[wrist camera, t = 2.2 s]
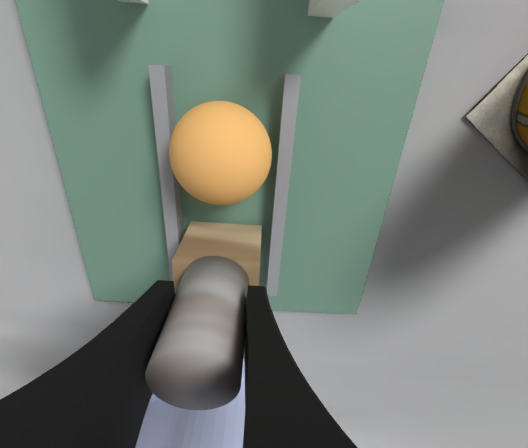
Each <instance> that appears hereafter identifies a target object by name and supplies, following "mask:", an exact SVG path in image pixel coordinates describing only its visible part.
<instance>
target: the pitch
mask: <svg viewBox="0 0 528 448" xmlns="http://www.w3.org/2000/svg"><path fill="white" fill-rule="evenodd" d="M15 1H16V5H17V9H18V13H19V17H20V20H21V24H22V28H23V32H24V35H25V39H26V43H27V47H28V51H29V54H30V58H31V62H32V66H33V70H34V73H35V77H36V81H37V85H38V88H39V92H40V96H41V100H42V104H43V107H44V111H45V115H46V119H47V123H48V126H49V130H50V134H51V138H52V141H53V145H54V149H55V153H56V157H57V160H58V164H59V168H60V172H61V176H62V179H63V183H64V187H65V191H66V194H67V198H68V202H69V206H70V210H71V213H72V217H73V221H74V225H75V229H76V232H77V236H78V240H79V244H80V248H81V251H82V255H83V259H84V263H85V266H86V270H87V274H88V278H89V282H90V285H91V289H92V293H93V297H94V300H103V301H121V302H135V301H136V300H137V299H138V298H140V297H141V296H142V295H143V294H144V293H145V292H146V291H147V290H148V289H149V288H150V287H151V286H152V285H153V284H154V283H155V282H156V281H157V280H165V281H174V280H173V270H172V259H173V257H174V255H175V253H176V251H177V249H178V247H179V245H180V243H181V241H182V239H183V237H184V234H185V232H186V230H187V228H188V226H189V224H190V222H191V221H197V222H213V223H229V224H246V225H262V229H261V255H260V275H259V286H264V287H265V288H266V289H267V295H268V299H269V303H270V306H271V309H272V310H283V311H301V312H319V313H337V314H357V310H358V307H359V303H360V299H361V296H362V292H363V289H364V285H365V282H366V278H367V274H368V271H369V267H370V264H371V260H372V257H373V253H374V249H375V246H376V242H377V239H378V235H379V232H380V228H381V225H382V221H383V217H384V214H385V210H386V207H387V203H388V200H389V196H390V192H391V189H392V185H393V182H394V178H395V175H396V171H397V167H398V164H399V160H400V157H401V153H402V150H403V146H404V142H405V139H406V135H407V132H408V128H409V125H410V121H411V118H412V114H413V110H414V107H415V103H416V100H417V96H418V93H419V89H420V85H421V82H422V78H423V75H424V71H425V68H426V64H427V60H428V57H429V53H430V50H431V46H432V43H433V39H434V36H435V32H436V28H437V25H438V21H439V18H440V14H441V11H442V7H443V3H444V0H360V1H359V2H357V3H356V4H354V5H353V6H351V7H349V8H348V9H346V10H345V11H343V12H342V13H340V14H339V15H337V16H336V17H334V18H329V17H315V16H307V15H308V6H309V0H148V4H142V3H129V2H121V1H118V0H15ZM211 101H228V102H232V103H236V104H238V105H240V106H243V107H244V108H246V109H248V110H249V111H250V112H252V113H253V114H254V115H255V116H256V117H257V118H258V119H259V120H260V122H261V123H262V124H263V126H264V128H265V129H266V131H267V134H268V136H269V139H270V143H271V149H272V160H271V167H270V170H269V173H268V176H267V178H266V180H265V181H264V183H263V184H262V186H261V187H260V188H259V189H258V190H257V191H256V192H255V193H254V194H253V195H252V196H250V197H249V198H247V199H245V200H243V201H241V202H238V203H235V204H231V205H214V204H209V203H206V202H203V201H201V200H199V199H197V198H195V197H194V196H192V195H191V194H189V193H188V192H187V191H186V190H185V189H184V188H183V187H182V186H181V185H180V183H179V182H178V180H177V179H176V177H175V175H174V173H173V170H172V167H171V164H170V158H169V145H170V139H171V136H172V133H173V130H174V128H175V126H176V125H177V123H178V121H179V120H180V119H181V118H182V117H183V116H184V115H185V114H186V113H187V112H188V111H189V110H191V109H192V108H194V107H196V106H198V105H200V104H203V103H206V102H211Z"/></svg>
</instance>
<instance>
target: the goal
mask: <svg viewBox="0 0 528 448" xmlns="http://www.w3.org/2000/svg"><path fill="white" fill-rule="evenodd" d="M118 1H121V2H129V3H142V4H148V0H118ZM359 1H360V0H309V6H308V15H307V16H315V17H329V18H334V17H336V16H337V15H339V14H340V13H342V12H343V11H345V10H346V9H348V8H349V7H351V6H353V5H354V4H356V3H357V2H359Z"/></svg>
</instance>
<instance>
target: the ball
mask: <svg viewBox="0 0 528 448" xmlns="http://www.w3.org/2000/svg"><path fill="white" fill-rule="evenodd" d="M169 158H170V164H171V167H172V170H173V173H174V175H175V177H176V179H177V180H178V182H179V183H180V185H181V186H182V187H183V188H184V189H185V190H186V191H187V192H188V193H189V194H191V195H192V196H194V197H195V198H197V199H199V200H201V201H203V202H206V203H209V204H214V205H231V204H235V203H238V202H241V201H243V200H245V199H247V198H249V197H250V196H252V195H253V194H254V193H255V192H256V191H257V190H258V189H259V188H260V187H261V186H262V184H263V183H264V181H265V180H266V178H267V176H268V173H269V170H270V167H271V160H272V149H271V143H270V139H269V136H268V134H267V131H266V129H265V128H264V126H263V124H262V123H261V122H260V120H259V119H258V118H257V117H256V116H255V115H254V114H253V113H252V112H250V111H249V110H248V109H246V108H244V107H243V106H240V105H238V104H236V103H232V102H228V101H211V102H206V103H203V104H200V105H198V106H196V107H194V108H192V109H191V110H189V111H188V112H187V113H186V114H185V115H184V116H183V117H182V118H181V119H180V120H179V121H178V123H177V125H176V126H175V128H174V130H173V133H172V136H171V139H170V145H169Z"/></svg>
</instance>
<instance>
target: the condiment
mask: <svg viewBox="0 0 528 448" xmlns="http://www.w3.org/2000/svg"><path fill="white" fill-rule="evenodd" d="M466 117H467V118H468V119H469V120H470V121H471V122H472V123H473V124H474V126H475V127H476V128H477V129H478V130H479V131H480V132H481V133H482V134H483V135H484V136H485V137H486V138H487V140H488V141H489V142H490V143H491V144H493V145H494V146H495V148H496V149H497V150H498V151H499V152H500V153H501V154H502V155H503V156H504V157H505V158H506V159H507V160H508V162H509V163H510V164H511V165H513V166H514V167H515V168H516V169H517V171H518V172H519V173H520V174H522V175H523V176H524V177H525V178H526V179H527V180H528V55H527V56H526V57H525V58H524V59H523V60H522V61H521V62H520V63H519V64H518V65H517V66H516V67H515V68H514V69H513V70H512V71H511V72H510V73H509V74H508V75H507V76H506V77H505V78H504V79H503V80H502V81H501V82H500V83H499V84H498V85H497V87H496V88H495V89H494V90H493V91H492V92H491V93H490V94H489V95H488V96H487V97H486V98H485V99H484V100H483V101H482V102H480V103H479V104H478V105H477V106H476V107H475V108H474V109H473V110H472V111H471V112H470V113H469V114H468V115H467V116H466Z"/></svg>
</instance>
